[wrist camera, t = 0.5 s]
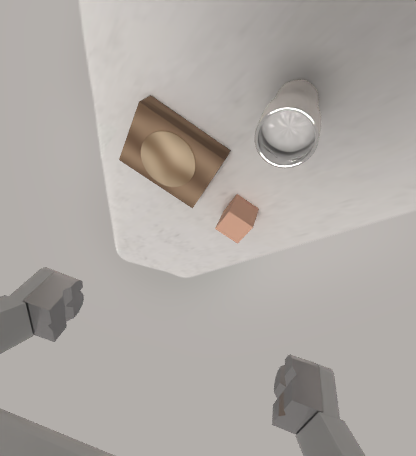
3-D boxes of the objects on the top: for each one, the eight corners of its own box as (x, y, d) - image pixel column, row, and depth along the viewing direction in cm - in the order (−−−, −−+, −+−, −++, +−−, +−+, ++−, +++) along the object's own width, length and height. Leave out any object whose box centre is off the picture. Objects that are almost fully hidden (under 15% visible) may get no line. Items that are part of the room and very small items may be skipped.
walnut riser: (150, 95, 48) (137, 102, 44) (230, 150, 49) (223, 161, 46) (130, 151, 55) (117, 160, 52) (199, 197, 57) (191, 209, 54)
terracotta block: (237, 193, 54) (229, 211, 49) (258, 208, 54) (252, 227, 50) (223, 210, 57) (215, 228, 53) (244, 224, 58) (237, 243, 53)
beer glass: (307, 133, 44) (301, 178, 32) (264, 117, 44) (244, 156, 33) (331, 85, 39) (334, 119, 28) (283, 68, 39) (267, 94, 28)
